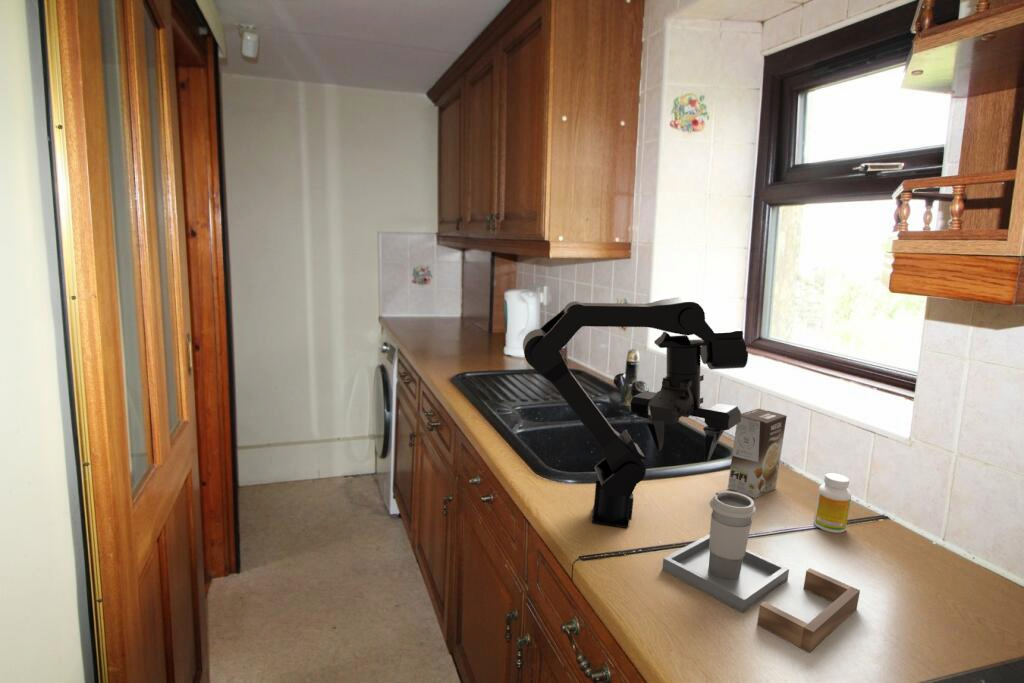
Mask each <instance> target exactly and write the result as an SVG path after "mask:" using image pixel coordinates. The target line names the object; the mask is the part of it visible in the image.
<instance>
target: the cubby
mask: <svg viewBox="0 0 1024 683" xmlns="http://www.w3.org/2000/svg"><path fill="white" fill-rule="evenodd" d="M803 590H806V591H808V592H810V593H812V594H813V595H816V596H818V597H820V598H823V599H825V600H826V601H829V602H831V603H830V604H829V605H828V606H826V608H824V609H823V610H822V611H821V612H820V613H819V614H818V615H816V616H815V617H814V618H813V619H811V621H809V622H805V621H804V620H801V619H799V618H798V617H795V615H794V616H793V615H792V614H790V613H787V612H786V611H783V610H782V609H780V608H777V607H776V606H774V605H772V604H770V603H768V602H766V601H762V602H761V603H760V604H759V608H758V614H757V622H756V624H757V626H760V627H761V628H763V629H765V630H766V631H769V632H770V633H772V634H774V635H776V636H777V637H780V638H781V639H784V640H785V641H787V642H788V643H791V644H792V645H794V646H797V647H798V648H800V649H802V650H803V651H805V652H807V653H809V654H810V653H811V652H812V651H814V649H816V647H818V646H819V645H820V644H821V643H822V642H823V641H824V640H825V639H826V638H827V637H828V636H830V635H831V634H832V633H833V632H834V631H835V630H836V629H837V628H838V627H839V626H841V624H842V623H844V622H845V621H846V620H847V619H848V618H849V617H850V616H851V615H853V613H854V612H856V611H857V609H858V605H859V604H858V603H859V599H860V592H861V590H860V589H858V588H856V587H853V586H851V585H849V584H847V583H845V582H842V581H840V580H838V579H835V578H833V577H831V576H828V575H827V574H824V573H821V572H820V571H817V570H815V569H813V568H808V569H807V570H805V576H804V583H803Z"/></svg>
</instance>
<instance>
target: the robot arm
mask: <svg viewBox="0 0 1024 683" xmlns="http://www.w3.org/2000/svg"><path fill="white" fill-rule="evenodd" d="M582 327H597V328H598V327H603V328H604V327H606V328H607V327H609V328H615V327H617V328H619V327H621V328H650V329H656V330H659V331H663V332H662V334H661V335H660V336H659V337H657V338H656V339H655V340H654V344H655V346H657V347H659V348H660V349H664V348H665V349H666V376H664V377H662V381H661V387H660V390H659V391H657V392H654V391H648V390H644V391H641V392H640V393H638V394H635V395H634V396H632V397H631V398H630V401H629V412H630V413H633V414H635V416H636V417H637V418H638V419H641V420H642V421H644V422H645V424H646V425H647V428H648V430H649V432H650V434H651V437H652V440H653V442H654V444H655V448H656V450H657V451H658V452H659V451H661V450H663V444H664V436H665V435H664V434H665V433H664V432H665V423H667V424H670V425H674V424H676V423H678V422H679V420H680V418H682V417H683V418H689V417H695V418H698V419H699V418H701V419H704V423H705V424H706V426H704V427H702V430H703V432H704V435H705V439H704V440H705V441H704V454H703V455H704V462H706V463H708V462H709V461H710V460H711V459H712V458H711V457H712V455H713V453H714V451H715V449H716V447H717V444H718V442H719V440H720V439H721V436H722V435H723V434H724V431H729V430H730V429H732V428H733V427H736V425H737V424H738V423H739V422H741V414H742V413H741V409H739V407H738V406H737V405H732V404H726V403H721V402H717V403H716V404H714V405H712V406H710V407H705V406H701V404H703V403H704V396H701V382H702V381H704V376H705V375H704V374H702V373H701V362H702V364H703V365H707V367H708V369H709V370H725V369H726V370H727V369H744V368H745V367H747V366H746V365H747V363H748V359H749V351H748V350H747V344H746V340H745V338H744V331H743V330H742V329H739V328H730V329H727V330H713V329H712V328H711V327H710V325H709V324H708V323H707V321H706V314H705V311H704V309H703V307H702V306H701V305H700V304H699V303H697V302H695V301H694V300H690V299H688V298H686V297H682V296H678V297H671V298H664V299H660V300H657V301H652V302H647V303H621V302H619V303H618V302H617V303H616V302H615V303H612V302H611V303H609V302H607V303H606V302H605V303H604V302H580V301H570V302H569V303H567V304H566V305H565V306H564V308H563V309H561V311H560V312H558V313H557V314H556V315H554V316H553V317H551V318H550V319H549V320H548V321H546V322H545V323H544V325H542V326H541V327H540V328H538V329H537V328H536V329H533V330H530V331H529V332H528V333H527V334H526V335H525V336H524V338H523V341H522V350H523V354H524V359H525V361H526V362H527V363H528V364H529V366H530V367H531V368H533V370H535V372H537V373H538V374H539V375H540V376H541V377H543V378H544V379H545V380H546V381H548V382H549V383H550V384H551V385H553V386H554V388H555V389H556V390H557V392H558V393H559V394H560V396H561V397H562V398H563V399H564V401H565V402H566V403H567V405H568V406H569V407H570V409H571V410H572V411H573V413H574V414H575V415H576V417H577V418H578V419H579V421H580V422H581V423H582V425H583V426H584V427H585V429H586V430H587V431H588V433H589V434H590V435H591V437H592V438H593V439H594V441H595V442H596V444H598V446H599V448H600V450H601V452H602V454H603V456H604V458H602V460H600V461H599V462H598V463H597V464H596V465H594V470H595V474H596V476H597V478H598V479H597V480H595V488H594V498H593V499H594V502H593V506H592V516H591V523H593V524H597V525H606V526H613V527H614V526H615V527H620V528H621V527H622V528H629V527H630V521H631V520H632V517H633V508H634V507H633V506H634V494H633V493H634V490H635V489H636V486H637V484H639V483H641V481H642V480H643V479H644V477H645V476H646V473H647V472H646V471H647V466H646V464H645V461H643V460H646V456H645V455H644V453H643V451H642V450H641V449H640V447H639V445H638V444H637V443H635V442H634V441H633V438H632V437H631V435H630V433H628V430H627V429H624V430H623V431H622V432H621V433H619V432H618V431H616V429H614V428H613V427H612V425H611V424H610V423H609V421H608V420H607V418H606V417H605V416H604V415H603V412H601V410H600V409H599V408H598V406H596V403H594V401H593V400H592V399H591V397H590V396H589V394H588V393H587V392H586V390H585V389H584V387H582V385H581V384H580V382H579V381H578V379H576V376H574V374H573V373H572V372H571V370H570V369H569V367H568V364H567V362H566V360H565V358H564V356H563V355H562V353H561V350H562V349H563V348H564V347H565V346H566V345H567V344H568V343H569V342H570V341H571V340H572V338H574V336H575V335H576V333H577V332H578V331H579V330H581V328H582ZM669 333H673V334H677V335H670V334H669ZM692 335H695V336H696V337H698V339H690V338H689V336H692Z"/></svg>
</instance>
